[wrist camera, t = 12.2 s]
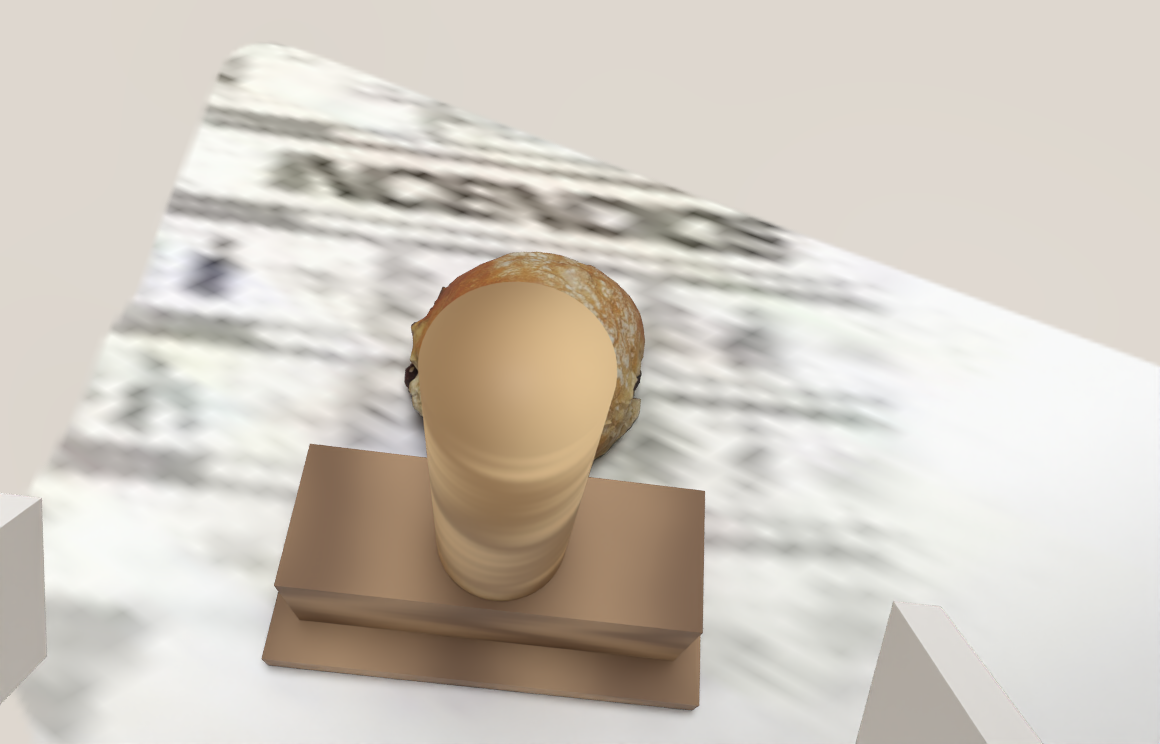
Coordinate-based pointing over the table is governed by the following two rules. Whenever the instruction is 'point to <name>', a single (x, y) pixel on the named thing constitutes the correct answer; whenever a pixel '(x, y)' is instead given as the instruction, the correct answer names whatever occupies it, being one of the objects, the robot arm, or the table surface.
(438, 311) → the bread roll
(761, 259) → the table surface
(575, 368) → the post
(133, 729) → the table surface
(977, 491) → the table surface
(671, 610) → the base
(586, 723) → the table surface
